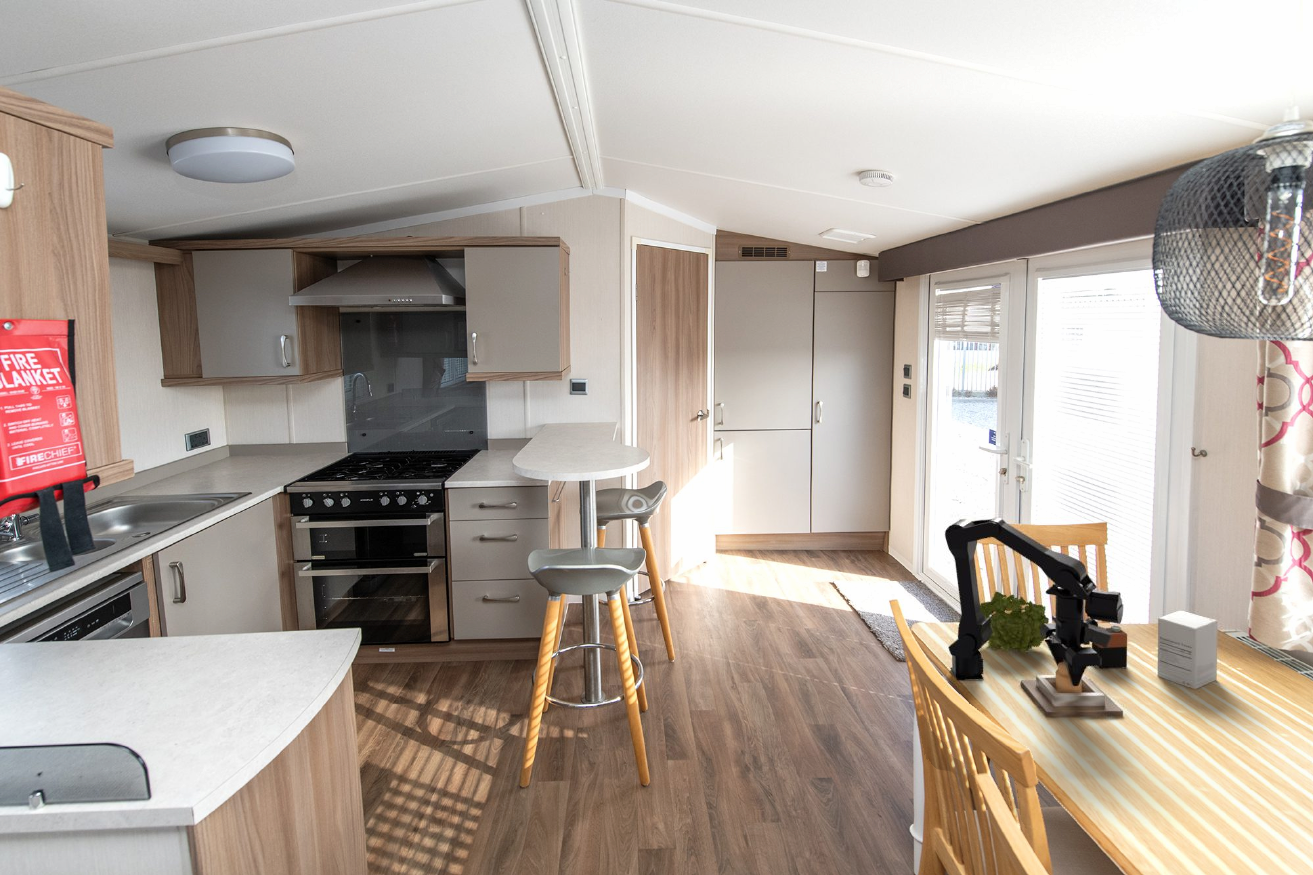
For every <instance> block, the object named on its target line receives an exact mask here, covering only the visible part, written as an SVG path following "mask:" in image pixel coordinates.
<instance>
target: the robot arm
mask: <svg viewBox="0 0 1313 875" xmlns="http://www.w3.org/2000/svg"><path fill="white" fill-rule="evenodd" d="M944 538H945V541H946V544H947V548H948V551H949V552H950V553H951V555H952V556H953V559H954V564H955V571H956V572H955V573H956V580H957V588H958V596H959V603H960V604H959V605H960V606H959V607H960V612H961V613H960V618H959V622H958V626H957V627H958V630H957V639H956V640H954V641H953V642H952V643H951V644H949V646H948V651H949V653H950V655H951V663H952V664H951V667H950V668H949V670H950V669H951V670H950V671H952V672H951V673H952V675H953V677H954V678H955V679H956V681H966V680H965V679H983V680H984V678H985V677H984V676H983V675H984V658H983V656H982V653H981V651H979V650H980V649H982V647H983V646H984V645H985V644H987V643H988V642H989V641H988V640H989V639H990V635H991V634H992V633H993V631H992V629H991V618H985V617H984V616H983V614H982V612H981V608H980V604H981V601H980V600H981V599H980V594H979V586H978V577H977V569H976V560H975V554H976V548H977V545H978V541H980V540H984V539H989V538H993V539H995V540H996V541H999V543H1001V544H1003V545H1004V546H1006V547H1007V548H1010V549H1011V550H1012V551H1014V552H1016V553H1017V554H1018V555H1020V556H1022V557H1023V558H1025V559H1027V560H1028V561H1030V562H1031V563H1033V564H1034V565H1036V566H1037V567H1039V569H1041V571H1042V572H1043V573H1044V574H1045V575H1046V577H1047V578H1048V579H1050V580H1051V581H1052V582H1053V584H1052V586H1049V588H1048V589H1046V591H1045V594H1046V595H1051V596H1055V614H1054V615H1052V616H1051V618H1052V619H1051V620H1052V621H1053V622H1054V623H1052V622H1051V623H1048V624H1043V625H1042V626H1041V627H1040V635H1041V636H1042V637H1043V638H1044V642H1045V643H1046V645H1047V647H1048V650H1049V651H1050V653H1051V655H1052V658H1053V660H1054V661H1055V664H1056V666H1057V667H1058V664H1059V663H1060V662H1064V663H1065V666H1066V668H1067V671H1068V674H1069V677H1070V679H1071V682H1072V684H1073V686H1078V685H1079V683H1080V681H1081V678H1082V676H1083V674H1084V673H1085V671H1086V669H1087V668H1088V667H1098V666H1101V665H1102V657H1101V656H1100V655H1099V654H1098V653H1097V652H1095V651H1094V650H1093V649H1092V646H1089V645H1090V643H1091V644H1092V643H1095V644H1098V645H1101V646H1102V647H1105V648H1107V646H1108V644H1109V642H1110V639H1111V637H1112V635H1111V634H1110V633H1109V632H1108V631H1106V630H1105V629H1103V628H1104V627H1103V626H1100V625H1099V622H1098V621H1101V622H1104V623H1105V622H1107V623H1111V624H1117V625H1120V624H1121V622H1122V621H1123V615H1124V604H1123V599H1122V598H1121V592H1120V591H1107V590H1100V589H1097V585H1096V584H1095V582H1094V581H1093V579H1092V578H1091V577H1090V576H1089V574H1088V573H1087V569H1086V565H1085V564H1084V563H1083V562H1082V561H1081V560H1079V559H1077V558H1075V557H1072V556H1070V555H1068V554H1065V553H1062V552H1058V551H1054V550H1052V549H1049V548H1047V547H1046V546H1045V545H1042V544H1041V543H1040V542H1038V541H1037V540H1035V539H1033V538H1032V537H1030V536H1028V535H1026V534H1025V533H1024V532H1022V531H1020V530H1019V529H1017V528H1015V527H1014V526H1012V525H1011V524H1009V523H1007V522H1006V521H1005V520H1004V519H1003V518H1001V517H994V518H991V519H990V518H989V519H978V520H973V521H972V520H970V519H966V518H963V519H959V520H958V521H956V522H955V523H952V524H951V525H949V526H948V527H947V528H946V529H945V531H944ZM1085 614H1086V616H1087V618H1086V619H1085V618H1084V617H1085ZM1055 622H1056V623H1055ZM1102 627H1103V628H1102ZM1082 645H1084V646H1082ZM1087 645H1088V646H1087Z"/></svg>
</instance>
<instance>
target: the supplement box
mask: <svg viewBox="0 0 1313 875" xmlns="http://www.w3.org/2000/svg"><path fill="white" fill-rule="evenodd" d="M1217 676H1218V620H1217V619H1214V618H1213V619H1212V618H1209V617H1205V616H1201V615H1198V614H1195V613H1192V612H1187V611H1184V610H1177V611H1174V612H1171V613H1169V614H1166V615H1164V616H1160V617H1158V618H1157V677H1159V678H1162V679H1165V680H1168V681H1170V682H1173V683H1176V684H1179V685H1181V686H1184V685H1185V687H1187V686H1188V688H1190V687H1191V688H1190V689H1193V690H1197V689H1198V688H1201V687H1204V686H1206V685H1207V684H1211V683H1213V682H1214V681H1217V679H1218V678H1217Z"/></svg>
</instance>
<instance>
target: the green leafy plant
mask: <svg viewBox="0 0 1313 875" xmlns="http://www.w3.org/2000/svg"><path fill="white" fill-rule="evenodd" d="M991 598H992V599H991V601H989V600H988V601H986V602H985V601H984V602H980V608H981V612H982V614H983V616H984V617H985V618H991V629H992V631H993V633H992V634H991V635H990V639H989V640H988V641H987V643H988V644H987V646H988V648H989V649H991V650H993V649H994V650H1000V649H1003V650H1004V651H1007V652H1010V651H1011V649H1014V650H1015V651H1016V652H1020V653H1023V654H1025V653H1027V652H1028V651H1029V649H1032V648H1038V647H1040V646H1042V644H1043V642H1045V639H1044V638H1043V637H1042V636H1041V635H1040V627H1041V626H1042V625H1043V624H1050V623H1049V620H1050V619H1049V617H1047V615H1046V605H1042V604H1036V603H1033V602H1032V601H1031V600H1029V602H1028V601H1026V600H1025V599H1024V597H1023V596H1020V598H1019V599H1018V597H1015V595H1014V594H1010V595H1009V596H1007V594H1003V593H1001V592H1000V591H997V590H996V591H995V592H994V593H993V596H992V597H991ZM1023 606H1024V607H1023ZM1007 611H1009V612H1010V613H1009V612H1007Z"/></svg>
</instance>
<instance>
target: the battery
mask: <svg viewBox="0 0 1313 875" xmlns="http://www.w3.org/2000/svg"><path fill="white" fill-rule="evenodd" d="M1101 627H1102V628H1103V629H1105V630H1106V631H1108V632H1109V633H1110V634H1111V635H1112V637H1111V639H1110V642H1109V644H1108V646H1107V648H1105V647H1102V646H1101V645H1098V644H1095V643H1092V642H1091V648H1092V649H1093V650H1094V651H1095V652H1097V653H1098V654H1099V655H1100V656H1101V657H1102V665H1101V666H1097V667H1098V668H1099V669H1101V670H1104V669H1122V668H1123V669H1125V668H1127V666H1128V633H1126V631H1124V630H1122V627H1121V626H1119V625H1111V627H1103V626H1101Z"/></svg>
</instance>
